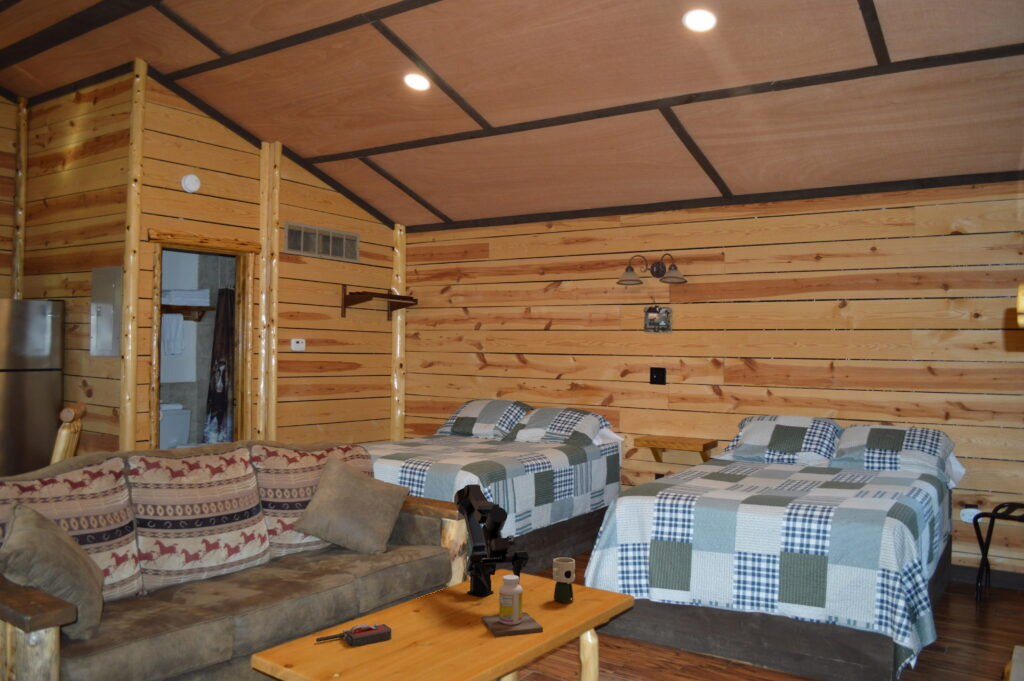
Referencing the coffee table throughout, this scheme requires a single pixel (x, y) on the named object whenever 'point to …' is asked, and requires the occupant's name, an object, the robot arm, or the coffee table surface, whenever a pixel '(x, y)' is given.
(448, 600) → the coffee table surface
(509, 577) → the supplement bottle
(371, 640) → the walkie-talkie
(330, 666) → the coffee table surface
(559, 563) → the character mug
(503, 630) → the walnut board
